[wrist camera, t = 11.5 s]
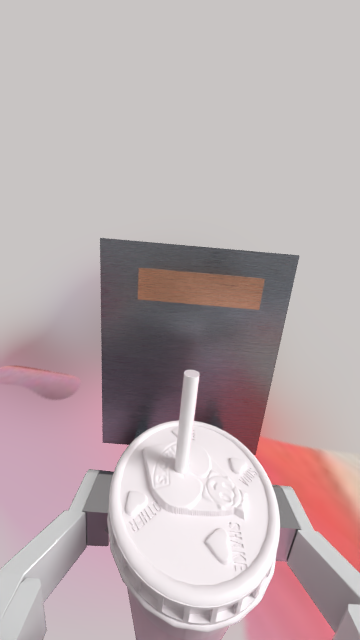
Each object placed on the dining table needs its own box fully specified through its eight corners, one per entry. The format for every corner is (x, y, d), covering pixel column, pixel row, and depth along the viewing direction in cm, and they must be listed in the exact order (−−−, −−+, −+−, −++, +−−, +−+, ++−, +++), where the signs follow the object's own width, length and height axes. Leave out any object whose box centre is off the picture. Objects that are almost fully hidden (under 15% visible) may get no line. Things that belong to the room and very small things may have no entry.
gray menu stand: (68, 517, 15) (46, 218, 10) (107, 433, 22) (105, 240, 17) (286, 534, 15) (374, 247, 10) (251, 445, 22) (291, 256, 17)
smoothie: (155, 519, 14) (169, 334, 11) (247, 583, 12) (304, 367, 8) (74, 675, 9) (53, 395, 5) (217, 864, 6) (355, 553, 3)
